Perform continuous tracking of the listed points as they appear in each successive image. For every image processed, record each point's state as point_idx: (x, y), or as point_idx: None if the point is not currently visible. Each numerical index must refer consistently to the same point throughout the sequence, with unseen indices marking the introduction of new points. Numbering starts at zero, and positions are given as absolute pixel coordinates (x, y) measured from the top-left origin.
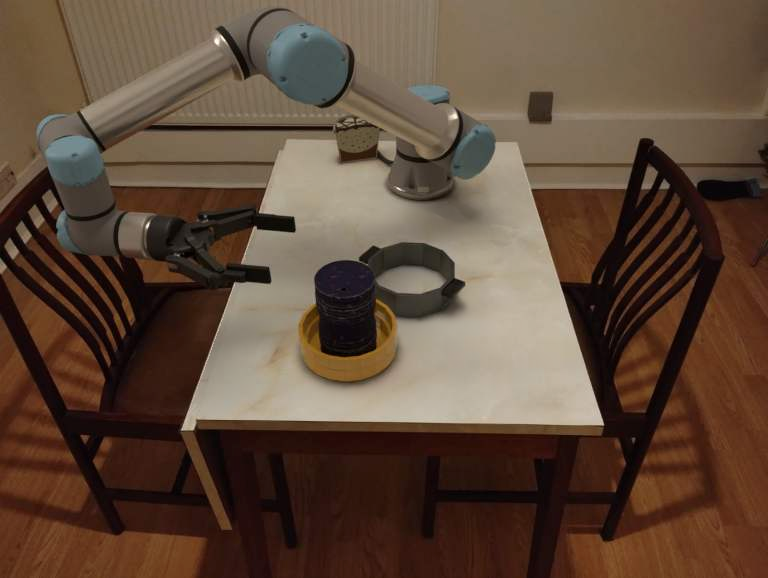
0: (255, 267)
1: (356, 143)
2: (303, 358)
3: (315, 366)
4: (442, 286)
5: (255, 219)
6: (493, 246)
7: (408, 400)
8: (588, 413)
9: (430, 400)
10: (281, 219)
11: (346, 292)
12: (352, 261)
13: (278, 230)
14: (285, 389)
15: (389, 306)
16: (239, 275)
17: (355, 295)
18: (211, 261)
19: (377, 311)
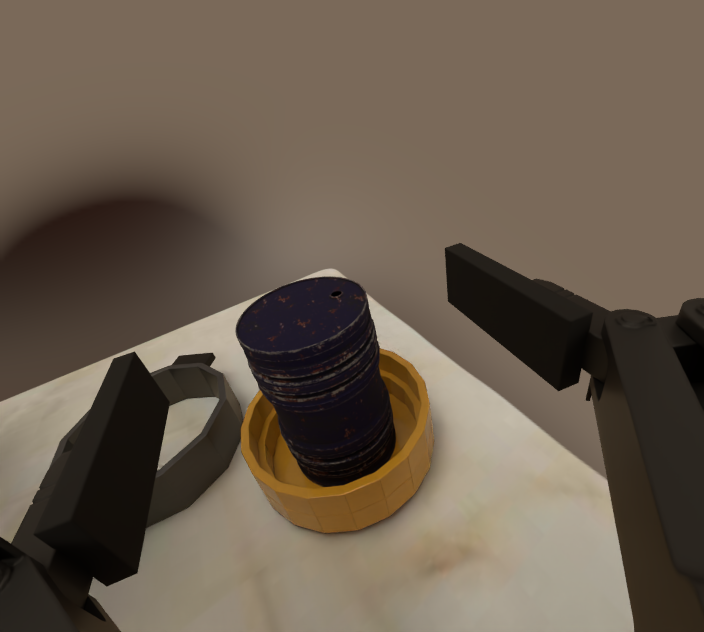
0: (482, 260)
1: None
2: (420, 481)
3: (432, 430)
4: (194, 365)
5: (90, 535)
6: (60, 410)
7: (392, 343)
8: (325, 270)
9: (378, 331)
10: (125, 392)
11: (340, 290)
12: (237, 331)
13: (157, 452)
14: (501, 470)
15: (233, 431)
16: (555, 284)
17: (340, 280)
18: (663, 389)
19: (264, 416)
